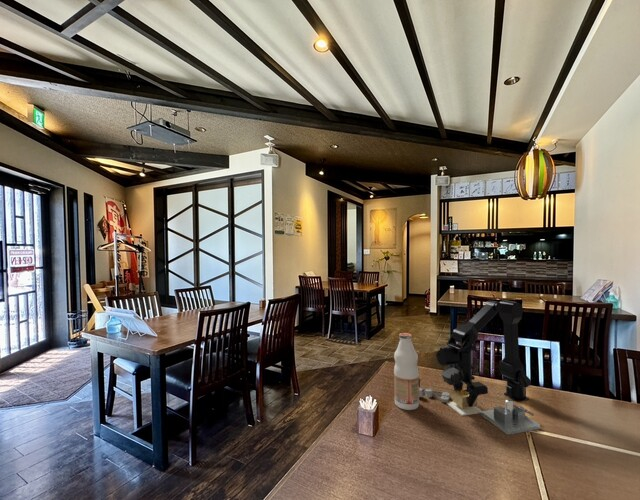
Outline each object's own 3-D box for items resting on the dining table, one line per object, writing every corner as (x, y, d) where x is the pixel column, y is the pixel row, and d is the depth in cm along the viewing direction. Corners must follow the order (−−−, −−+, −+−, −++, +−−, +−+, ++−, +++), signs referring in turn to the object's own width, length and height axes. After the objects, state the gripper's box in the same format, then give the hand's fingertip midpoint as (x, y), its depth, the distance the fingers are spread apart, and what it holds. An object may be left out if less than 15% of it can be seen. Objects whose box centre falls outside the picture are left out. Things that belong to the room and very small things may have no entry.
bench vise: (513, 410, 116) (513, 390, 116) (542, 428, 104) (542, 406, 104) (481, 415, 113) (480, 395, 113) (507, 434, 101) (507, 412, 101)
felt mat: (466, 400, 124) (466, 399, 124) (482, 412, 115) (482, 411, 115) (446, 403, 122) (446, 402, 122) (461, 415, 113) (461, 414, 113)
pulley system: (426, 411, 118) (456, 402, 123) (424, 399, 118) (455, 390, 123) (386, 385, 144) (413, 377, 149) (386, 375, 144) (412, 368, 149)
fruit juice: (395, 409, 118) (393, 337, 118) (394, 397, 127) (392, 330, 127) (420, 411, 116) (419, 338, 116) (417, 399, 126) (416, 331, 125)
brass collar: (465, 398, 122) (465, 388, 122) (477, 406, 116) (477, 395, 116) (451, 400, 121) (451, 390, 121) (462, 408, 115) (462, 397, 115)
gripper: (431, 355, 126) (431, 393, 126) (461, 373, 107) (462, 418, 108) (455, 353, 128) (455, 390, 128) (488, 370, 110) (489, 413, 110)
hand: (464, 402), depth 118 cm, fingers closed on brass collar, 6 cm apart
